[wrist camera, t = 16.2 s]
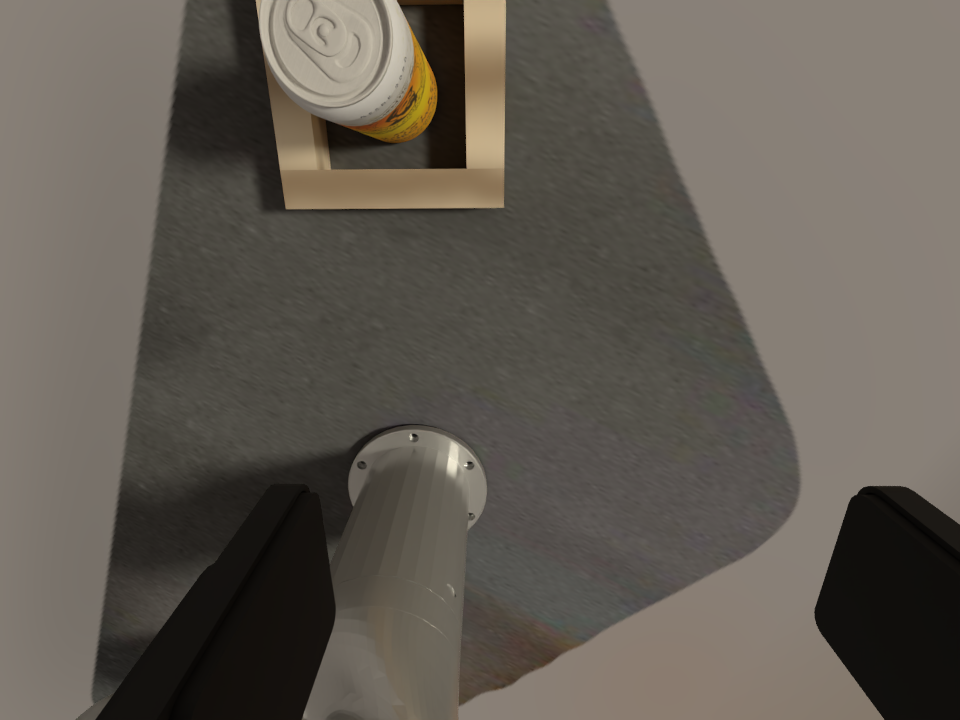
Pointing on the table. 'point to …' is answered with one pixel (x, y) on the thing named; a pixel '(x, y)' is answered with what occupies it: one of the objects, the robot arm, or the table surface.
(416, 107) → the beer can
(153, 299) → the table surface
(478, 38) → the can holder
